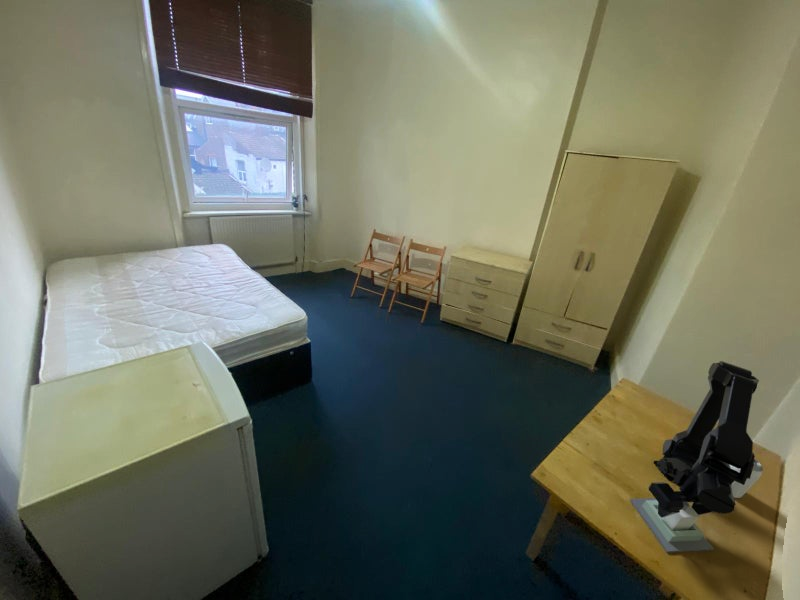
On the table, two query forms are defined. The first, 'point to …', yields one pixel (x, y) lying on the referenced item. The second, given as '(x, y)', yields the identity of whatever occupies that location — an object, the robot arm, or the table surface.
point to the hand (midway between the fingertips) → (675, 514)
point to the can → (742, 489)
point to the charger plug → (682, 518)
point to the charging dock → (665, 534)
